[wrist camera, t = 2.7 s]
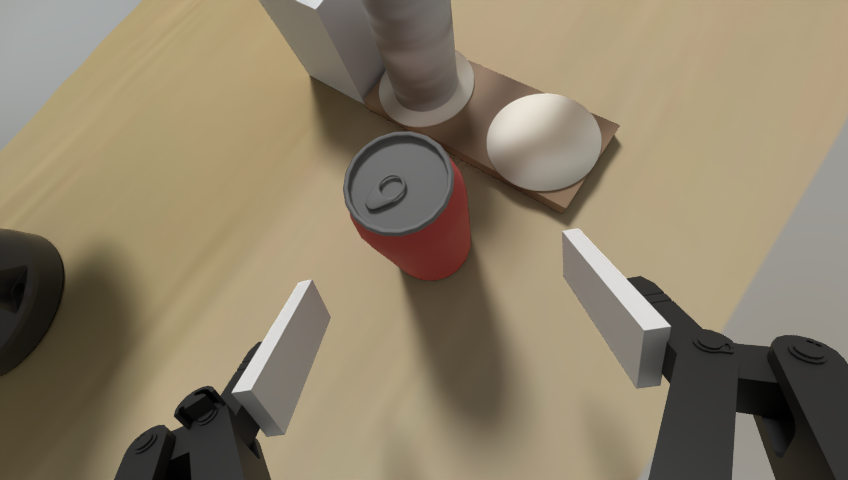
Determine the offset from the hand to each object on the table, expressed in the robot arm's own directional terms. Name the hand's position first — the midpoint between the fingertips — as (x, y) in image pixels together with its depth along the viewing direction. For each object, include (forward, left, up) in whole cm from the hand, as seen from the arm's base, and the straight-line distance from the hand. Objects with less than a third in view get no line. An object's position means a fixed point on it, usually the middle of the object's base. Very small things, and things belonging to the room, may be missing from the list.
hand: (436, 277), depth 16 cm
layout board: (-7, +15, -9) cm, 19 cm away
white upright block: (-22, +15, -9) cm, 28 cm away
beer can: (-4, +3, -9) cm, 11 cm away
